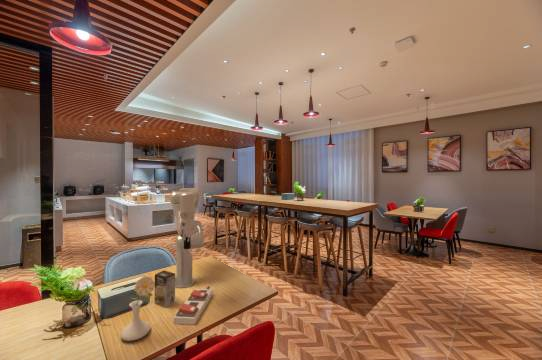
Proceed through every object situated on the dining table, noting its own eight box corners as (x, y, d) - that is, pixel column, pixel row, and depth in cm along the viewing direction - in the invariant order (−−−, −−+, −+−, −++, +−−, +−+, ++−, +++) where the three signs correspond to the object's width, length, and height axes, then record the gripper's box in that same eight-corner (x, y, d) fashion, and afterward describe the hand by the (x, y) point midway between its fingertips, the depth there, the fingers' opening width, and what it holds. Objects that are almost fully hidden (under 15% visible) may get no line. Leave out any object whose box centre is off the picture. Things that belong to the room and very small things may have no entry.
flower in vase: (118, 346, 96) (118, 285, 95) (123, 329, 106) (122, 274, 105) (154, 338, 101) (154, 280, 100) (155, 322, 111) (155, 270, 111)
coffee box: (153, 303, 127) (153, 274, 127) (163, 298, 133) (163, 270, 133) (166, 308, 124) (166, 277, 123) (175, 302, 129) (175, 273, 129)
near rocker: (178, 311, 112) (179, 308, 112) (182, 306, 117) (183, 303, 117) (192, 315, 112) (193, 311, 112) (196, 309, 116) (196, 306, 116)
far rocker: (190, 296, 126) (190, 293, 126) (193, 292, 131) (194, 289, 131) (202, 299, 126) (203, 296, 126) (205, 295, 130) (206, 292, 130)
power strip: (173, 323, 111) (173, 315, 111) (200, 287, 147) (200, 280, 147) (194, 324, 110) (194, 316, 110) (216, 287, 146) (216, 281, 146)
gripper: (188, 218, 122) (188, 253, 122) (198, 213, 137) (198, 244, 137) (174, 217, 122) (174, 252, 123) (186, 213, 137) (186, 244, 138)
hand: (187, 248), depth 130 cm, fingers closed
